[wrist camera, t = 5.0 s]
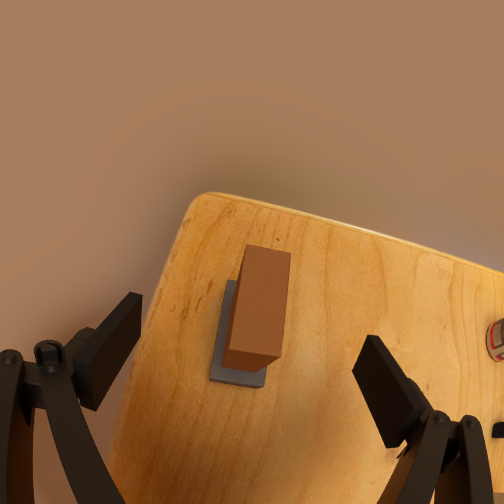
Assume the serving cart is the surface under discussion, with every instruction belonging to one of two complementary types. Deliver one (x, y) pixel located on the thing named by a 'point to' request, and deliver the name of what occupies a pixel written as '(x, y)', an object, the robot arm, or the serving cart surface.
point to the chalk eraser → (252, 319)
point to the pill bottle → (496, 340)
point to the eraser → (498, 430)
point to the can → (498, 498)
